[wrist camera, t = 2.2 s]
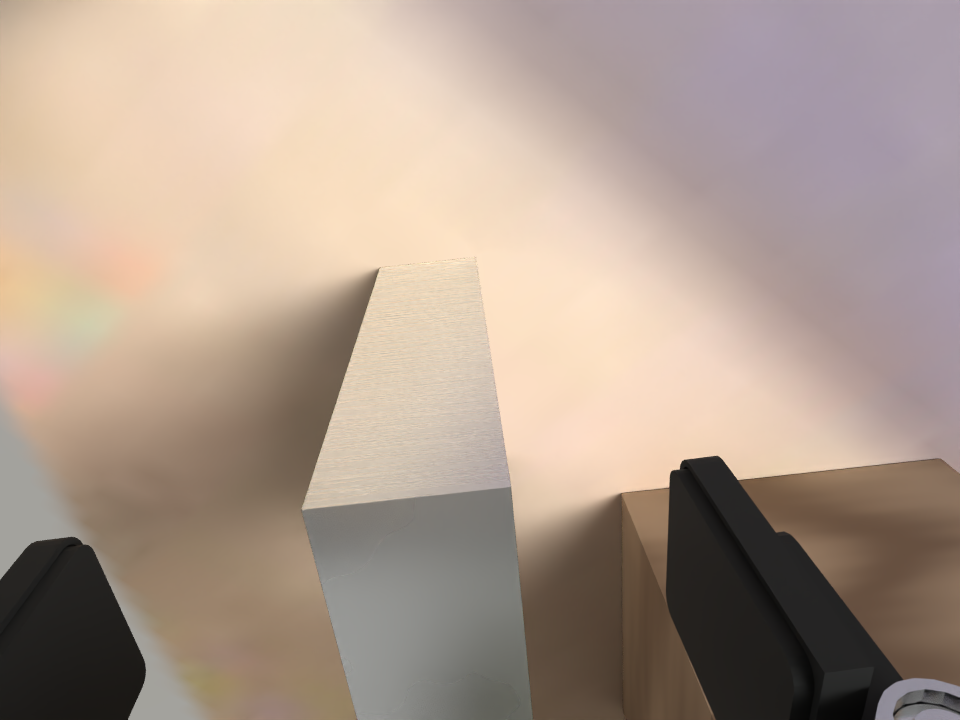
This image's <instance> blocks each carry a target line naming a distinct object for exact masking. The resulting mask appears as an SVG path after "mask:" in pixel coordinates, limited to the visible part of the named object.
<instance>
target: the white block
mask: <svg viewBox="0 0 960 720" xmlns="http://www.w3.org/2000/svg"><path fill="white" fill-rule="evenodd" d="M302 514H303V518H304V522H305V525H306V529H307V533H308V537H309V540H310V544H311V548H312V552H313V555H314V559H315V563H316V567H317V570H318V574H319V578H320V582H321V585H322V589H323V593H324V597H325V600H326V604H327V608H328V612H329V615H330V619H331V623H332V627H333V630H334V634H335V638H336V642H337V645H338V649H339V653H340V657H341V660H342V664H343V668H344V672H345V675H346V679H347V683H348V687H349V690H350V694H351V698H352V702H353V705H354V709H355V713H356V717H357V720H533V714H532V704H531V693H530V683H529V672H528V662H527V651H526V641H525V630H524V619H523V609H522V598H521V588H520V577H519V567H518V556H517V546H516V535H515V524H514V514H513V503H512V493H511V484H510V477H509V471H508V464H507V458H506V451H505V445H504V438H503V431H502V425H501V418H500V412H499V405H498V399H497V392H496V386H495V379H494V372H493V366H492V359H491V353H490V346H489V340H488V333H487V326H486V320H485V313H484V307H483V300H482V294H481V287H480V280H479V274H478V267H477V261H476V257H472V258H462V259H453V260H444V261H435V262H426V263H417V264H407V265H398V266H389V267H380V269H379V273H378V276H377V279H376V282H375V285H374V288H373V291H372V294H371V297H370V300H369V303H368V306H367V309H366V313H365V316H364V319H363V322H362V325H361V328H360V331H359V334H358V337H357V340H356V343H355V346H354V349H353V353H352V356H351V359H350V362H349V365H348V368H347V371H346V374H345V377H344V380H343V383H342V386H341V389H340V393H339V396H338V399H337V402H336V405H335V408H334V411H333V414H332V417H331V420H330V423H329V426H328V430H327V433H326V436H325V439H324V442H323V445H322V448H321V451H320V454H319V457H318V460H317V463H316V466H315V470H314V473H313V476H312V479H311V482H310V485H309V488H308V491H307V494H306V497H305V500H304V503H303V506H302Z"/></svg>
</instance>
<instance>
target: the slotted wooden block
mask: <svg viewBox="0 0 960 720" xmlns="http://www.w3.org/2000/svg"><path fill="white" fill-rule="evenodd" d="M739 483H740V484H741V485H742V487H743V488H744V490H745V491H746V492H747V494H748V495H749V496H750V498H751V499H752V500H753V502H754V503H755V505H756V506H757V507H758V509H759V510H760V511H761V513H762V514H763V515H764V517H765V518H766V519H767V521H768V522H769V524H770V525H771V526H772V528H773V529H774V530H775V532H783V531H785V532H787V533H789V534H791V535H792V536H793V537H794V538H795V539H796V540H797V541H798V543H799V544H800V545H801V546H802V548H803V549H804V550H805V552H806V553H807V554H808V556H809V557H810V558H811V560H812V561H813V562H814V563H815V565H816V566H817V567H818V569H819V570H820V571H821V573H822V574H823V575H824V577H825V578H826V579H827V580H828V582H829V583H830V584H831V586H832V587H833V588H834V590H835V591H836V592H837V594H838V595H839V596H840V597H841V599H842V600H843V601H844V603H845V604H846V605H847V607H848V608H849V609H850V611H851V612H852V613H853V614H854V616H855V617H856V618H857V620H858V621H859V622H860V624H861V625H862V626H863V627H864V629H865V630H866V631H867V633H868V634H869V635H870V637H871V638H872V639H873V641H874V642H875V643H876V644H877V646H878V647H879V648H880V650H881V651H882V652H883V654H884V655H885V656H886V658H887V659H888V660H889V661H890V663H891V664H892V665H893V667H894V668H895V669H896V671H897V672H898V673H899V675H900V676H901V677H902V678H903V680H907V679H912V678H921V679H935V680H938V681H942V682H945V683H949V684H953V685H956V686H959V687H960V474H959V473H958V472H957V471H956V470H954V469H953V468H952V467H951V466H949V465H948V464H947V463H946V462H944V461H943V460H942V459H933V460H923V461H914V462H905V463H896V464H887V465H878V466H869V467H859V468H850V469H841V470H832V471H823V472H814V473H804V474H795V475H786V476H777V477H768V478H759V479H749V480H740V481H739ZM668 515H669V488H667V489H658V490H649V491H640V492H630V493H622V633H623V712H624V715H625V719H626V720H716V719H715V717H714V714H713V712H712V710H711V707H710V705H709V703H708V701H707V698H706V696H705V694H704V691H703V689H702V687H701V685H700V682H699V680H698V678H697V675H696V673H695V671H694V669H693V666H692V664H691V662H690V659H689V657H688V655H687V652H686V650H685V648H684V646H683V643H682V641H681V639H680V636H679V634H678V632H677V630H676V627H675V625H674V623H673V620H672V618H671V615H670V613H669V609H668V605H667V600H666V570H667V543H668Z"/></svg>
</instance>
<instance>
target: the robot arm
mask: <svg viewBox="0 0 960 720" xmlns="http://www.w3.org/2000/svg"><path fill="white" fill-rule="evenodd" d="M666 600H667V605H668V609H669V613H670V615H671V618H672V620H673V623H674V625H675V627H676V630H677V632H678V634H679V636H680V639H681V641H682V643H683V646H684V648H685V650H686V652H687V655H688V657H689V659H690V662H691V664H692V666H693V669H694V671H695V673H696V675H697V678H698V680H699V682H700V685H701V687H702V689H703V691H704V694H705V696H706V698H707V701H708V703H709V705H710V707H711V710H712V712H713V714H714V717H715V719H716V720H960V687H959V686H956V685H953V684H949V683H945V682H942V681H938V680H935V679H921V678H912V679H907V680H903V678H902V677H901V676H900V675H899V673H898V672H897V671H896V669H895V668H894V667H893V665H892V664H891V663H890V661H889V660H888V659H887V658H886V656H885V655H884V654H883V652H882V651H881V650H880V648H879V647H878V646H877V644H876V643H875V642H874V641H873V639H872V638H871V637H870V635H869V634H868V633H867V631H866V630H865V629H864V627H863V626H862V625H861V624H860V622H859V621H858V620H857V618H856V617H855V616H854V614H853V613H852V612H851V611H850V609H849V608H848V607H847V605H846V604H845V603H844V601H843V600H842V599H841V597H840V596H839V595H838V594H837V592H836V591H835V590H834V588H833V587H832V586H831V584H830V583H829V582H828V580H827V579H826V578H825V577H824V575H823V574H822V573H821V571H820V570H819V569H818V567H817V566H816V565H815V563H814V562H813V561H812V560H811V558H810V557H809V556H808V554H807V553H806V552H805V550H804V549H803V548H802V546H801V545H800V544H799V543H798V541H797V540H796V539H795V538H794V537H793V536H792V535H791V534H789V533H787V532H785V531H783V532H775V530H774V529H773V528H772V526H771V525H770V524H769V522H768V521H767V519H766V518H765V517H764V515H763V514H762V513H761V511H760V510H759V509H758V507H757V506H756V505H755V503H754V502H753V500H752V499H751V498H750V496H749V495H748V494H747V492H746V491H745V490H744V488H743V487H742V485H741V484H740V483H739V481H738V480H737V479H736V477H735V476H734V475H733V473H732V472H731V470H730V469H729V468H728V466H727V465H726V464H725V462H724V461H723V460H722V459H721V458H720V457H718V456H712V457H704V458H696V459H688V460H683V461H682V463H681V465H680V470H673V471H671V474H670V487H669V515H668V543H667V570H666ZM145 673H146V668H145V662H144V659H143V657H142V654H141V652H140V650H139V648H138V646H137V643H136V641H135V639H134V637H133V635H132V633H131V631H130V628H129V626H128V624H127V622H126V620H125V617H124V615H123V613H122V611H121V609H120V607H119V604H118V602H117V600H116V598H115V596H114V594H113V591H112V589H111V587H110V585H109V583H108V581H107V578H106V576H105V574H104V572H103V570H102V568H101V565H100V563H99V561H98V559H97V557H96V555H95V552H94V551H93V549H92V548H91V547H90V546H89V545H83V544H82V542H81V541H80V540H79V539H77V538H75V537H67V538H59V539H52V540H44V541H36V542H34V543H31V544H30V545H29V546H28V547H27V548H26V549H25V550H24V551H23V553H22V554H21V555H20V557H19V558H18V559H17V560H16V561H15V562H14V564H13V565H12V566H11V567H10V569H9V570H8V571H7V572H6V574H5V575H4V576H3V577H2V579H1V580H0V720H128V718H129V716H130V713H131V711H132V709H133V707H134V704H135V702H136V700H137V698H138V696H139V693H140V691H141V689H142V687H143V684H144V681H145V675H146V674H145Z"/></svg>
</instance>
